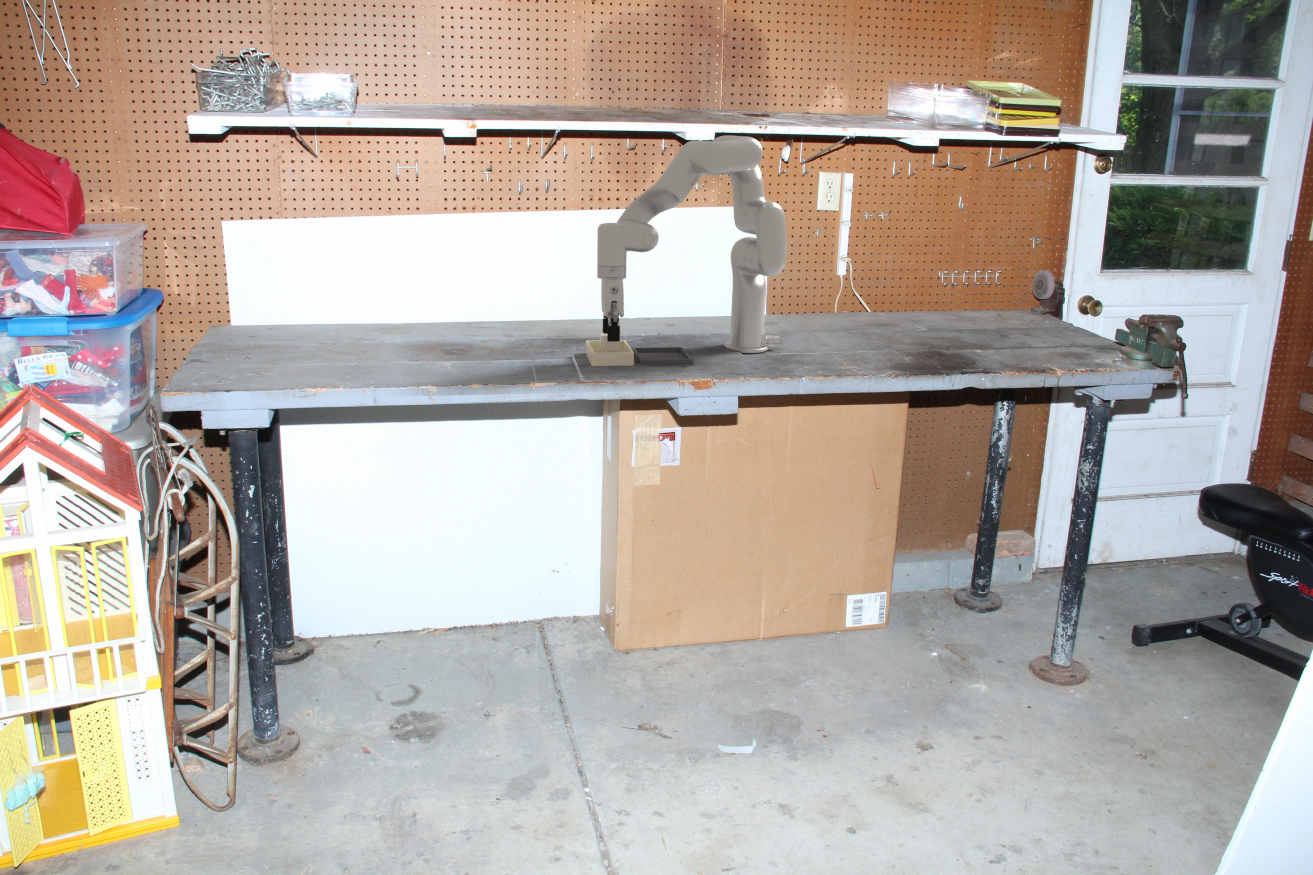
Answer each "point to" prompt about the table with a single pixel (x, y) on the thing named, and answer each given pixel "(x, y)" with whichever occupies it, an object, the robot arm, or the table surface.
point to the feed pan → (662, 356)
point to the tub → (609, 355)
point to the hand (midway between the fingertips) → (611, 337)
